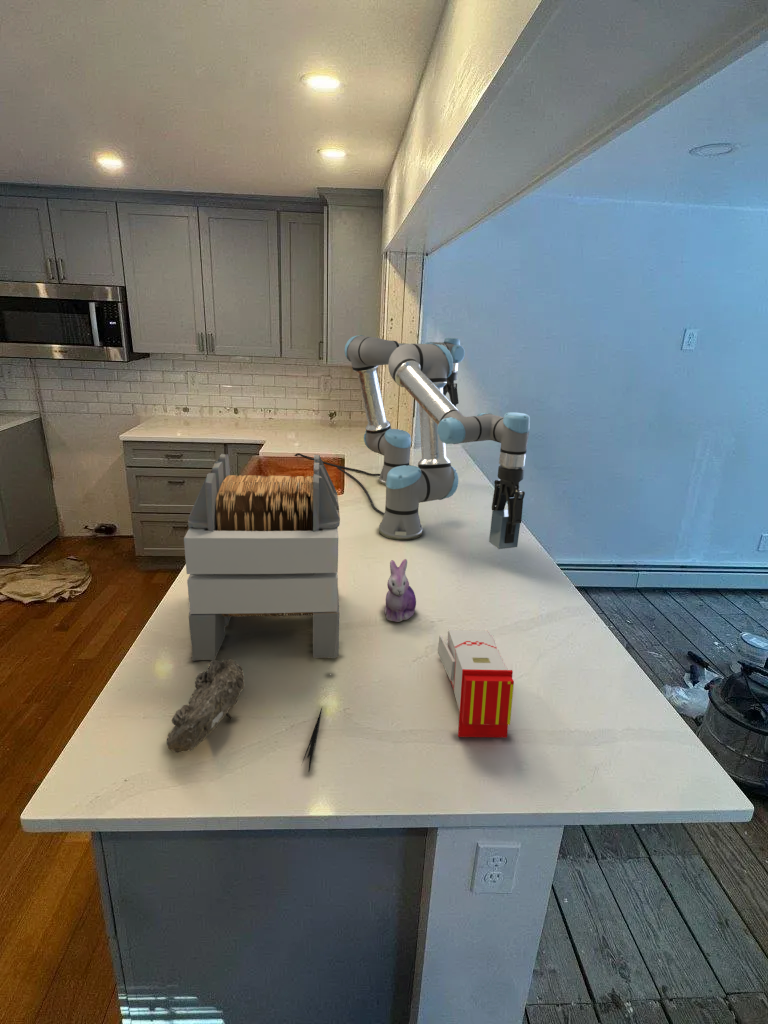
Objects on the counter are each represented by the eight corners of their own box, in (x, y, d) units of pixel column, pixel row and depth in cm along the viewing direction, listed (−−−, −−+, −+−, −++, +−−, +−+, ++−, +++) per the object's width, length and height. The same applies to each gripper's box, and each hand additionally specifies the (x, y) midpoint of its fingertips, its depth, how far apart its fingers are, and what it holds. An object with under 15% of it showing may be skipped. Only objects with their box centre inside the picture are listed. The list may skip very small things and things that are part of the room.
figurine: (392, 627, 141) (395, 572, 136) (374, 608, 149) (376, 556, 144) (425, 619, 145) (429, 566, 140) (405, 601, 154) (408, 550, 149)
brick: (517, 547, 174) (521, 515, 171) (498, 549, 172) (502, 517, 169) (507, 539, 180) (510, 509, 176) (488, 541, 178) (492, 510, 174)
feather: (331, 679, 122) (336, 673, 122) (307, 777, 96) (313, 769, 95) (324, 675, 122) (329, 669, 121) (298, 772, 95) (304, 764, 95)
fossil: (192, 660, 117) (244, 628, 112) (224, 691, 120) (276, 661, 115) (142, 746, 98) (202, 712, 93) (182, 779, 101) (242, 748, 96)
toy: (488, 613, 130) (523, 677, 101) (484, 667, 133) (517, 744, 104) (435, 612, 130) (455, 676, 101) (432, 666, 133) (451, 743, 103)
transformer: (215, 589, 155) (206, 444, 141) (335, 588, 159) (337, 446, 145) (189, 663, 124) (173, 484, 110) (339, 659, 127) (342, 486, 113)
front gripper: (540, 473, 160) (530, 549, 168) (506, 457, 177) (498, 526, 185) (517, 475, 158) (508, 551, 165) (484, 458, 175) (477, 528, 182)
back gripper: (468, 374, 263) (464, 420, 270) (446, 368, 285) (443, 410, 292) (453, 374, 261) (449, 420, 268) (432, 368, 283) (429, 411, 290)
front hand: (503, 538), depth 175 cm, fingers closed on brick, 6 cm apart
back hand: (446, 415), depth 280 cm, fingers open, 13 cm apart
